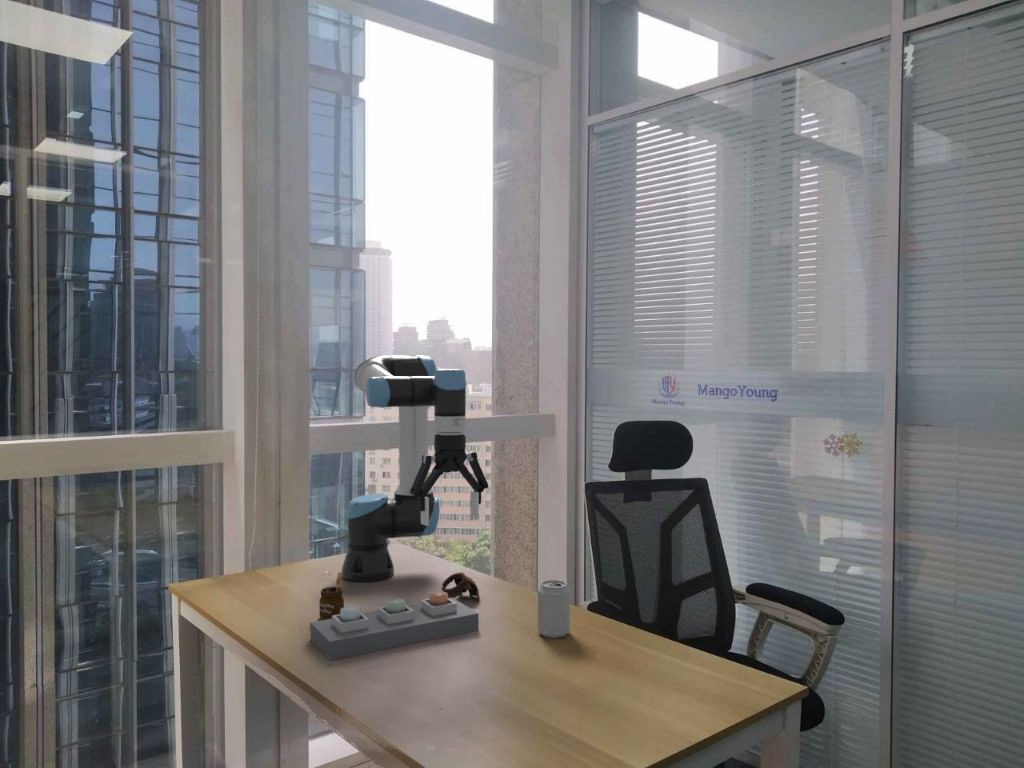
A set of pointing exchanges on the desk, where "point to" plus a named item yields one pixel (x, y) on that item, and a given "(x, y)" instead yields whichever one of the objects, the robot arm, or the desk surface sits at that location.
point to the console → (392, 628)
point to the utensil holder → (331, 600)
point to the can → (553, 608)
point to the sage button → (395, 605)
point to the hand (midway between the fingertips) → (450, 521)
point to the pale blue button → (350, 613)
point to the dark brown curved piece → (460, 586)
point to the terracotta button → (438, 598)
